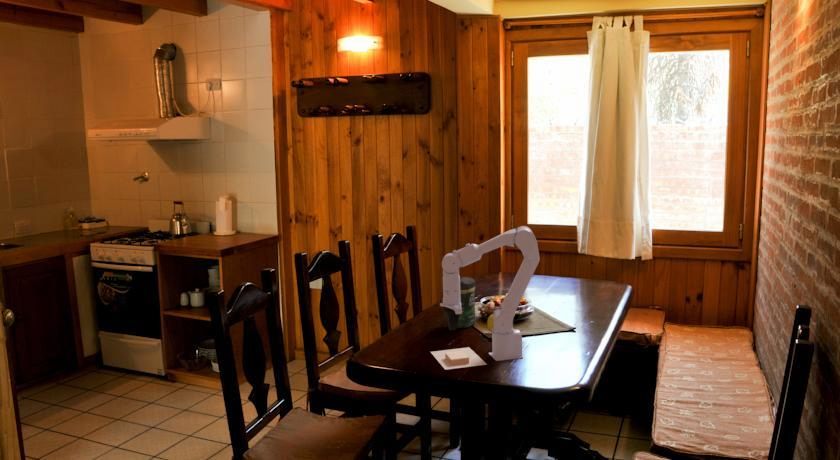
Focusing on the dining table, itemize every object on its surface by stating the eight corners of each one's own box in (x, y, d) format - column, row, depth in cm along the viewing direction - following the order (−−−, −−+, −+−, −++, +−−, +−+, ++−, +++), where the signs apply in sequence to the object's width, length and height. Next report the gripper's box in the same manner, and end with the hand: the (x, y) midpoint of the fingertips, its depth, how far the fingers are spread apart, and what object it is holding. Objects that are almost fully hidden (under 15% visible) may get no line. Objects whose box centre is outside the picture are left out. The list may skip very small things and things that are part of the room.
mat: (469, 348, 233) (469, 347, 233) (486, 365, 216) (486, 364, 216) (430, 353, 230) (430, 351, 230) (445, 370, 212) (445, 369, 212)
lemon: (501, 331, 251) (500, 310, 250) (503, 336, 245) (503, 314, 244) (486, 332, 251) (486, 311, 249) (488, 336, 245) (488, 315, 244)
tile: (462, 350, 224) (469, 357, 217) (462, 356, 224) (469, 363, 217) (445, 352, 222) (451, 359, 216) (445, 358, 223) (451, 365, 216)
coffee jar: (467, 329, 255) (466, 281, 252) (449, 327, 259) (447, 280, 256) (479, 322, 263) (478, 276, 260) (461, 320, 267) (460, 274, 264)
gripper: (433, 286, 228) (435, 325, 230) (446, 296, 214) (447, 337, 216) (453, 284, 229) (454, 322, 231) (467, 294, 216) (468, 334, 218)
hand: (452, 329), depth 224 cm, fingers closed
